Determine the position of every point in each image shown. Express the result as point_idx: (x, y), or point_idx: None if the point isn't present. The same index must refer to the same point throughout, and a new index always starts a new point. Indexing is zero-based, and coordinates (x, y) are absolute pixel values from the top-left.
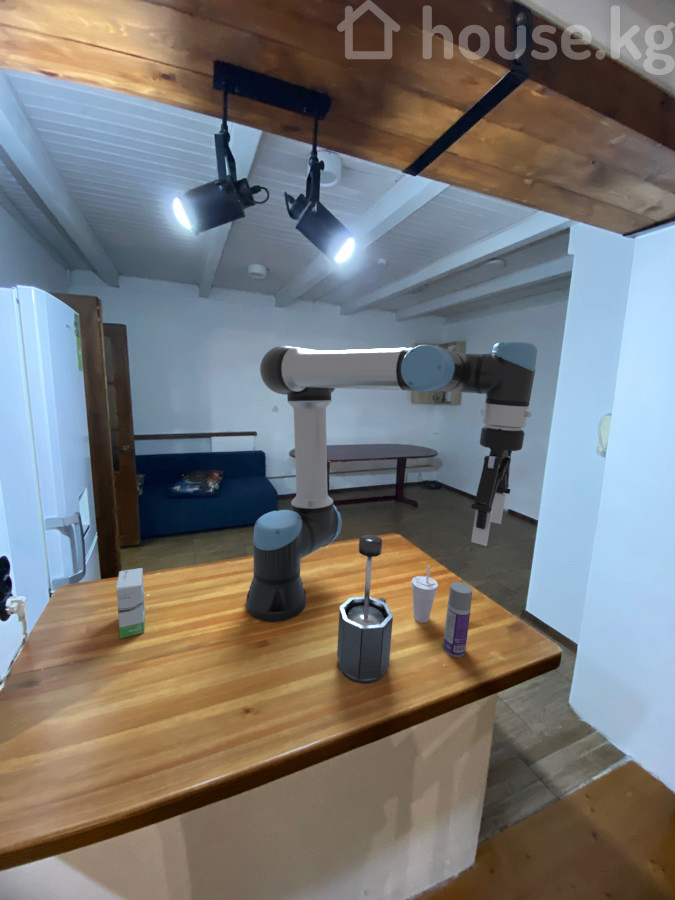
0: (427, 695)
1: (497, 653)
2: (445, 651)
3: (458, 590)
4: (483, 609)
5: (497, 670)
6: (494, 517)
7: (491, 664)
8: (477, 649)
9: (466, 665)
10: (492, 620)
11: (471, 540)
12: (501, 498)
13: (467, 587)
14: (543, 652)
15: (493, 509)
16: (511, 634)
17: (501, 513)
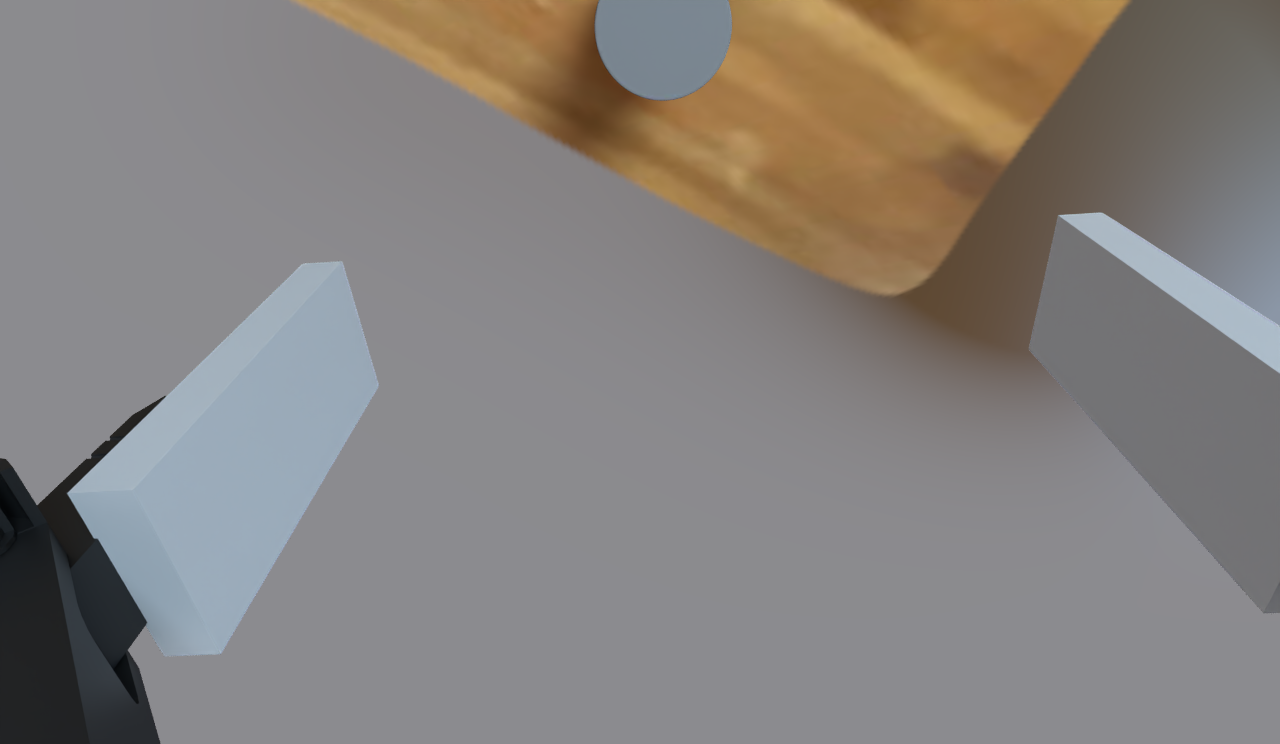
0: (356, 13)
1: (753, 157)
2: None
3: (614, 26)
4: (1056, 10)
5: (659, 182)
6: (1070, 313)
7: (675, 156)
8: (726, 84)
9: (604, 79)
10: (978, 77)
11: (298, 270)
12: (1227, 527)
13: (690, 62)
14: (865, 290)
15: (1131, 337)
16: (913, 173)
17: (1090, 413)
